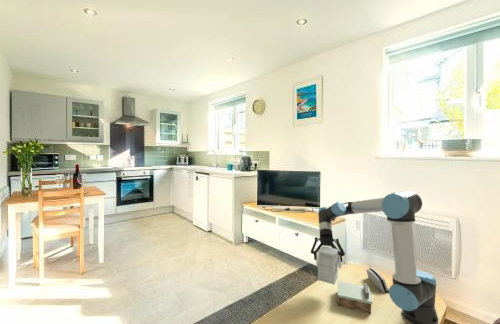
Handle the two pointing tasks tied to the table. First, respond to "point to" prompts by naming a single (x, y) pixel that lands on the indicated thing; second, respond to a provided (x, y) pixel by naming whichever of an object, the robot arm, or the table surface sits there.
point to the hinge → (377, 279)
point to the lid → (354, 292)
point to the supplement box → (328, 265)
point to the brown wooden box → (354, 305)
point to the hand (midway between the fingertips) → (328, 266)
